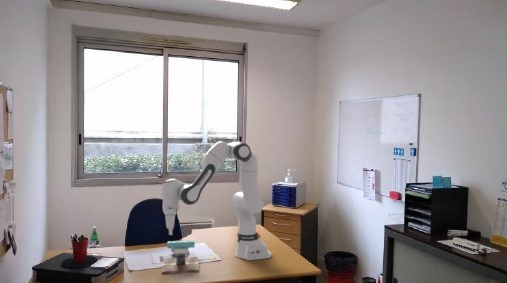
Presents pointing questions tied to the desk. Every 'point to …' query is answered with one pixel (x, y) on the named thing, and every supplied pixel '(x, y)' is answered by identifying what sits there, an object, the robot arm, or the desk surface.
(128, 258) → the desk surface
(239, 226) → the robot arm
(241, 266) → the desk surface
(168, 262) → the beige square tray
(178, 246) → the coupling
